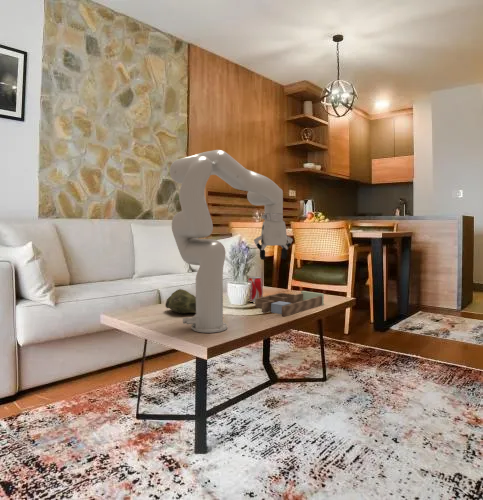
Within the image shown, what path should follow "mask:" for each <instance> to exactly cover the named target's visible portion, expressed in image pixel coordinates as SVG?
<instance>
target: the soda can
mask: <svg viewBox="0 0 483 500" xmlns="http://www.w3.org/2000/svg"><path fill="white" fill-rule="evenodd" d="M248 282H250V283H251V289H250V296H249V299H250V301H252V302H255V298H260V297H264V296H263V293H264V292H263V291H264V289H263V288H264V287H263V286H264V284H263V283H264V282H263V280H262V277H261V276H260V275H259V276H257V275H255V276H254V275H252V276H251V275H250V276H248V279H247V283H248Z"/></svg>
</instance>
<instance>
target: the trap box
mask: <svg viewBox="0 0 483 500" xmlns="http://www.w3.org/2000/svg"><path fill="white" fill-rule="evenodd" d="M278 301H282V302H288V303H291V304H289V305H285V306H282V314H281V317H287V316H291V315H294V314H297V312H298V313H300V311H301V312H304V311H307V310H311V309H314V308H316V307H320V306H323V305H322V296H318V297H314V298H311V299H307V300H303V294H302V293H301V292H300V293H297V294H295V293H293V294H292V293H285V292H278V293H274V294H270V295H269V294H268V295H265V296H263V297H260V298H255V303H254V305H255V306H254V307H255V308H256V309H261V313H262V312H263V314H264V313H265V314H266V313H269V312H271V303H274V302H278ZM268 311H269V312H268Z"/></svg>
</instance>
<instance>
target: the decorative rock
mask: <svg viewBox="0 0 483 500" xmlns="http://www.w3.org/2000/svg"><path fill="white" fill-rule="evenodd" d="M165 308H166V309H170V310H172V311H173V312H174V313H179V314H180V315H185V314H189V313H191V314H192V313H193V314H196V295H194V294H193V293H191V292H189V291H187V290H184V289H181V288H179V289H177V290H175V291H173V292H172V293H171V295H170V296H169V297H168V298H167V299H166V301H165Z"/></svg>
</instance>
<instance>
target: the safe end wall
mask: <svg viewBox="0 0 483 500" xmlns="http://www.w3.org/2000/svg"><path fill="white" fill-rule="evenodd" d="M300 293H302V294H303V300H307V299H311V298H314V297H318V296H322V305H321V306H323V305H324V302H325V300H324V297H325V296H324V295H325V293H321V292H315V291H314V292H313V291H307V290H301V291H300Z"/></svg>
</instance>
